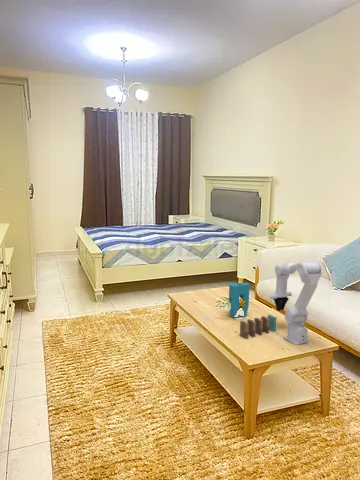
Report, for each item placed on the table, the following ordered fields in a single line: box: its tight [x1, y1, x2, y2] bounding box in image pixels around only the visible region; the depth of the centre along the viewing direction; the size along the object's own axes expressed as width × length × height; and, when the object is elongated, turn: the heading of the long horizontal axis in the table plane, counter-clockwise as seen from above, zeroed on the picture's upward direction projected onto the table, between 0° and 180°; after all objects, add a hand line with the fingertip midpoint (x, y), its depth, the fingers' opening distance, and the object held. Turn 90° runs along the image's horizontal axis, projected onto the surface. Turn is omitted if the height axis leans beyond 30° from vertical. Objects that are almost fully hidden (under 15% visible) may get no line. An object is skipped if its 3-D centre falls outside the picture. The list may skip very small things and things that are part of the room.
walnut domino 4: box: [260, 315, 270, 335], centre depth 198 cm, size 5×2×8 cm, turn 29°
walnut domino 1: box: [239, 320, 249, 340], centre depth 191 cm, size 5×2×8 cm, turn 29°
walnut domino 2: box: [246, 318, 257, 338], centre depth 194 cm, size 5×2×8 cm, turn 29°
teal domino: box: [267, 314, 277, 333], centre depth 201 cm, size 5×2×8 cm, turn 30°
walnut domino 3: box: [253, 317, 264, 336], centre depth 196 cm, size 5×2×8 cm, turn 29°
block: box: [228, 282, 251, 320], centre depth 220 cm, size 12×5×20 cm, turn 115°
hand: (280, 310), depth 202 cm, fingers closed
